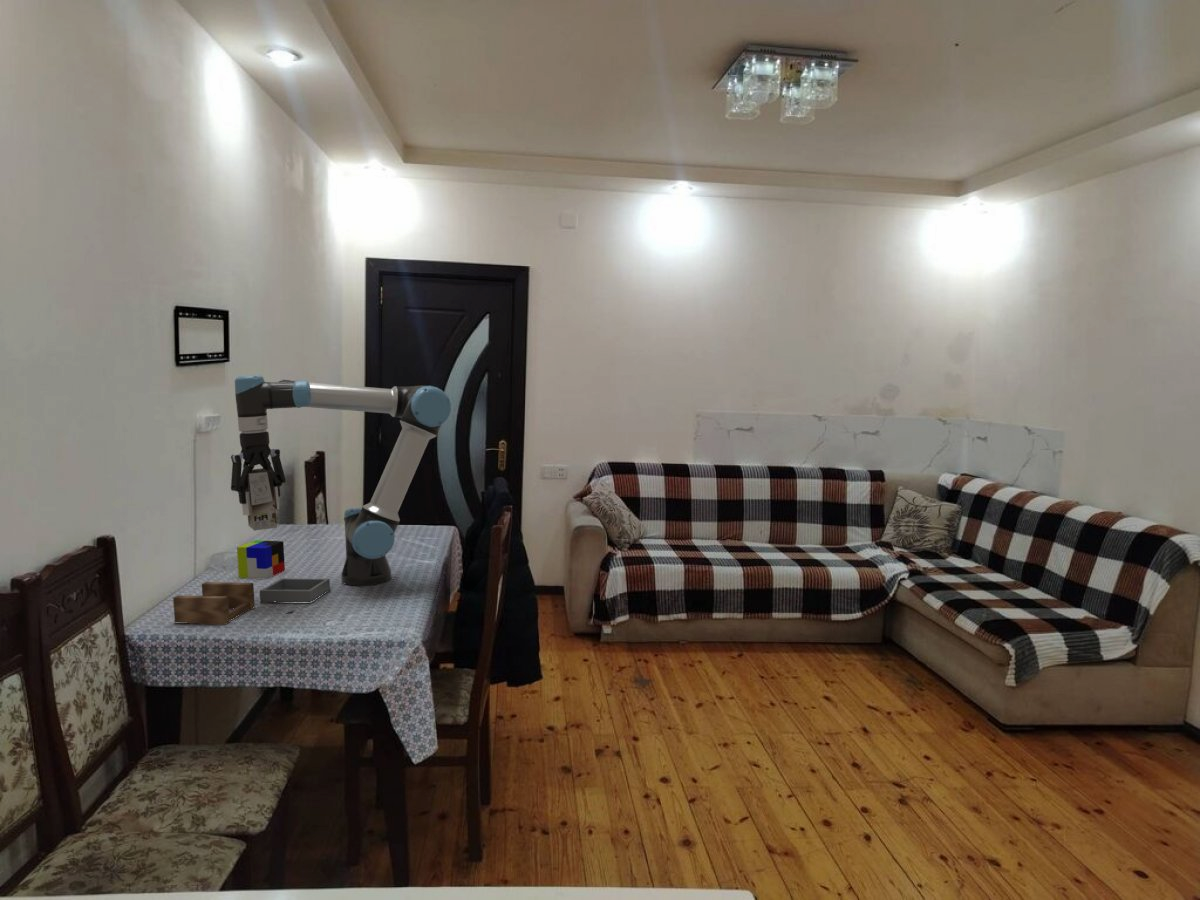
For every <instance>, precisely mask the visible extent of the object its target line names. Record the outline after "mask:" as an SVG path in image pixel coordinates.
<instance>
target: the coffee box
mask: <svg viewBox="0 0 1200 900" xmlns="http://www.w3.org/2000/svg"><path fill="white" fill-rule="evenodd" d="M247 475H248V486H247V490H246V492H249V496H250V506H251V515H250V516H248V515H247V522H248V527H249V528H251V529H252V530H253V531H256V532H257V531H261V530H270V529H275V528H276V529H277V528H278V524H277V513H276V511H277V510H276V509H275V498H274V486H273V474H272V471H271V470H269V469H263V467H261V468H255V469H252V472H251V473H247Z"/></svg>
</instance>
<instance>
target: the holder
mask: <svg viewBox="0 0 1200 900" xmlns="http://www.w3.org/2000/svg"><path fill="white" fill-rule="evenodd" d="M201 591H202V595H176V596H174V597H173V599H172V602H173V612H174V615H173V616H174V623H175V622H187V623H202V624H201V625H227V624H229V623H230V622H231V621H232V620H231V619H233V618H234V619H236V618H237V617H236V616H238V615H239V616H241V615H242V614H241V613H243V612H245V611H246V612H248V611H249V610H248V609H250V610H252V609H254V608H255V607H256V604H255V589H254V582H232V581H231V582H225V581H223V582H219V581H218V582H217V581H215V582H214V581H205V582H203V583H201ZM254 606H255V607H254ZM253 607H254V608H253ZM229 608H234V609H229ZM251 608H252V609H251ZM247 610H248V611H247ZM246 612H245V613H246ZM240 614H241V615H240ZM243 614H244V613H243ZM239 616H238V617H239ZM235 617H236V618H235ZM234 619H233V620H234ZM230 620H231V621H230ZM229 621H230V622H229ZM228 622H229V623H228ZM226 623H227V624H226Z"/></svg>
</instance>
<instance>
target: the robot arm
mask: <svg viewBox="0 0 1200 900" xmlns="http://www.w3.org/2000/svg"><path fill="white" fill-rule="evenodd" d="M234 395H235V404H236V411H237V423H238V425H237V426H238V431H239V432H240V433H239V443H240V447H241V451H240V453H238V454H232V455H231V456H230V458H231V463H232V466H231V467H232V468H231V470H232V471H231V482H230V483H231V484H230V491H233V492H237V494H238V501H239V505H241V508H242V515H243V516H247V517H248V516H250V515H251V506H250V496H249V492H246V490H247V486H248V475H247V473H251V472H252V470H253V469H254V468H255V467H256V466H258V465H260V467H261V468H263V469H269V470H271V471H272V474H273V486H274V498H275V509H276V511H277V510H280V500H279V498H280V497H281V486H282V485H283V484H285V483H286V482H287V481H286V477H285V473H284V468H283V464H282V462H281V450H280V449H279V448H272V449H271V447H270V442H271V441H270V432H269V431H267V430H268V429H269V425H268V412H267V410H273V409H275V410H276V409H291V408H295V409H296V408H298V409H301V408H314V409H325V410H326V409H328V410H338V411H339V410H340V411H351V412H353V411H355V412H365V413H367V412H368V413H378V414H381V413H382V414H389V415H390V416H391V417H393V418H400V420H399V423H400V425H401V431H400V433H399V436H398V437H397V440H396V442H395V444H394V446H393V448H392V451H391V453H390V455H389V459H388V461H387V463H386V464H385V468H384V469H383V472H382V474H381V476H380V479H379V481H378V483H377V486H376V488H375V491H374V492H373V495H372V497H371V499H370V502H368V503H367V504H364V505H362V507H353V508H352V507H351V508H347V509H345V510H344V518H343V521H344V534H345V535H344V536H345V537H344V538H345V539H344V540H345V560H344V564H343V568H342V570H341V575H340V576H341V577H340V578H341V583H342V582H343V583H342V584H344V583H345V584H344V585H347V584H349V585H348V586H354V585H364V586H372V585H377V584H383V583H386V582H387V581H390V580H391V579H392V569H391V567H390V564H389V561H388V559H387V556H386V555H388V553H390V552H391V550H392V548H393V546H394V544H395V541H396V540H395V538H396V535H395V534H396V533H395V532H396V530H397V528H398V526H399V523H400V521H401V519H400V516H399V510H400V508H401V506H402V504H403V501H404V499H405V496H406V494H407V493H408V491H409V490H408V489H409V487H410V485H411V483H412V480H413V478H414V476H415V474H416V471H417V469H418V467H419V464H420V462H421V459H422V457H423V455H424V453H425V450H426V448H427V446H428V444H429V442H430V440H432V439H434V438H436V437H437V435H438V433H439V431H440V428H441V427H442V425H443V424H444V423H445V422H446V421H447V420H448V419H449V417H450V414H451V411H452V404H451V401H450V398H449V396H448V395H447V394H446V393H445V392H444V391H443V390H442V389H440V388H439V387H437V386H433V385H414V386H413V385H411V386H396V385H394V386H393V387H392V388H385V387H384V388H383V387H382V388H381V387H371V386H370V387H369V386H357V385H347V384H346V385H344V384H335V383H334V384H333V383H323V382H322V383H321V382H312V381H311V382H310V381H307V380H298V379H297V380H290V379H282V380H279V381H273V382H272V381H265V380H264V377H263V376H262V375H244V376H238V377H236V378H235V379H234ZM269 457H270V459H271V460H270V459H269ZM243 460H244V462H243V463H242V461H243ZM242 464H243V465H242Z"/></svg>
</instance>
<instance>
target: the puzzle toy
mask: <svg viewBox="0 0 1200 900" xmlns="http://www.w3.org/2000/svg"><path fill="white" fill-rule="evenodd" d="M236 551H237V552H236V554H237V556H236V557H237V568H238V569H237V571H238V579H240V578H241V579H257V578H264V579H263V580H266V579H265V578H268V579H270V578H272V577H274V576H273V575H275V574H277V573H279V572H281V573H283V572H282V571H284V570H285V571H286V566H285V565H286V563H285V546H284V541H283V540H257V539H256V540H253V541H250V542H248V543H245V544H242V545H239V546H237V547H236ZM285 571H284V572H285ZM279 574H280V573H279ZM277 575H278V574H277ZM271 576H272V577H271ZM275 576H276V575H275ZM269 577H270V578H269Z"/></svg>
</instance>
